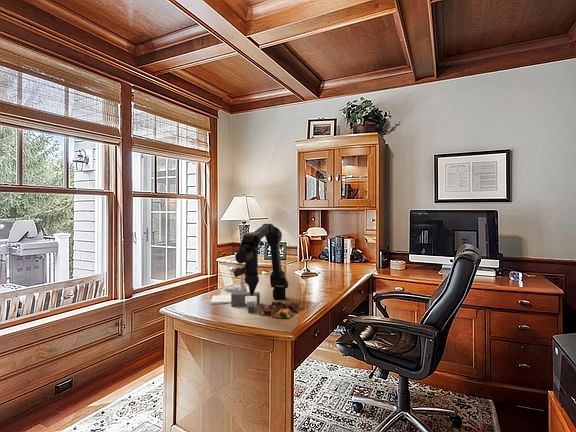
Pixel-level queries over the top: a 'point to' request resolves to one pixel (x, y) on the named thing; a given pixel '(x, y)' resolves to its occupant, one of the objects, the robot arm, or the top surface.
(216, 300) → the white mat
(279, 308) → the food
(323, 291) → the top surface
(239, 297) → the grey notched block
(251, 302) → the plug
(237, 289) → the electronic device
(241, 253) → the robot arm
